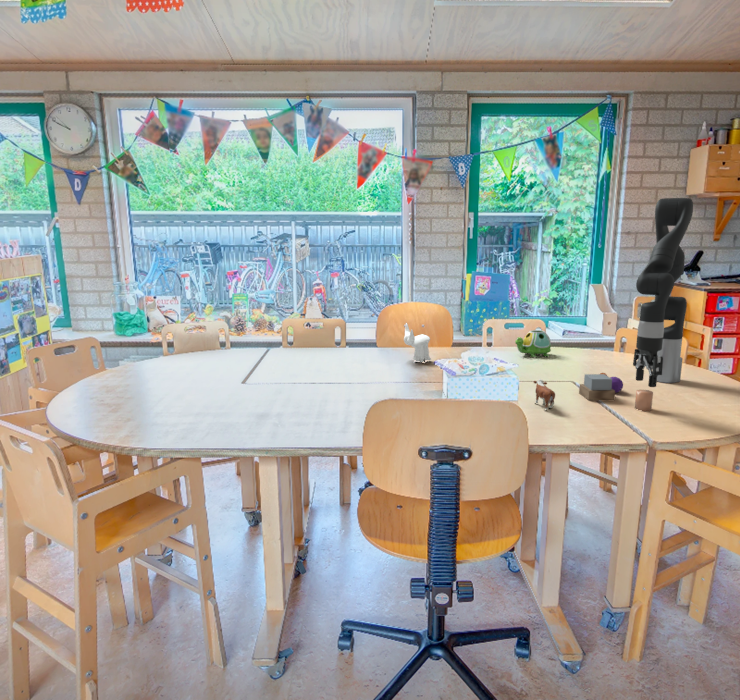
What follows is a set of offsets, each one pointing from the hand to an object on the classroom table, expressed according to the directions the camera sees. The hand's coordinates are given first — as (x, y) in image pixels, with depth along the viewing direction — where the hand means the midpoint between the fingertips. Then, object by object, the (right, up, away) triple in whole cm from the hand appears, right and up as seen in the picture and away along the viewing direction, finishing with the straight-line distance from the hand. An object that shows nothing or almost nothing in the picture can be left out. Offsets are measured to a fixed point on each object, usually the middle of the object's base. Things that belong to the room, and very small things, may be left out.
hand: (645, 383), depth 179 cm
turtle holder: (-12, +8, +84) cm, 86 cm away
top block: (-10, -2, +15) cm, 18 cm away
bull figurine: (-32, -8, +6) cm, 33 cm away
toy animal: (-69, +6, +75) cm, 102 cm away
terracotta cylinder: (0, -9, +2) cm, 9 cm away
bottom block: (-10, -6, +16) cm, 20 cm away
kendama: (0, -3, +29) cm, 29 cm away
